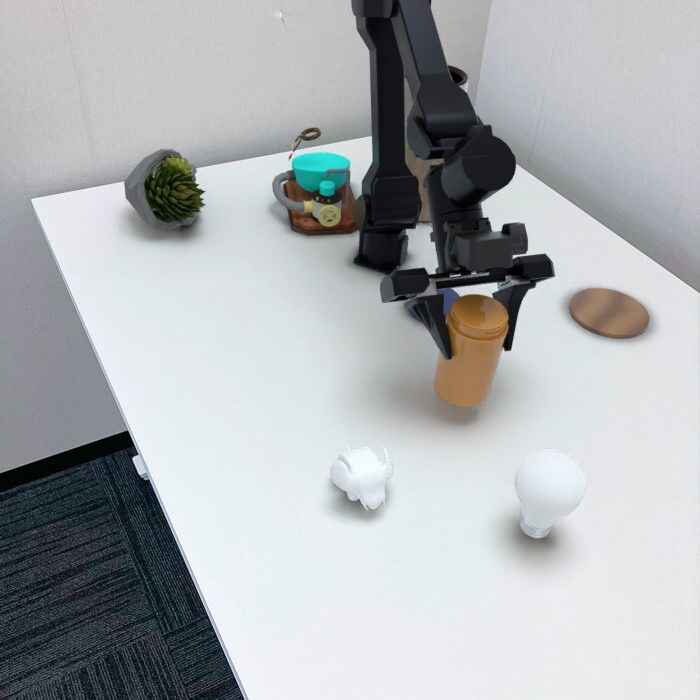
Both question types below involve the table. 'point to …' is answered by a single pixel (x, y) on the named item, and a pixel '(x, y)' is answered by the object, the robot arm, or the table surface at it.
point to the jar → (471, 350)
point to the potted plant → (164, 190)
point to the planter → (414, 163)
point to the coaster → (609, 313)
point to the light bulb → (548, 489)
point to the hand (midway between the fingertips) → (478, 355)
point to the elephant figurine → (363, 475)
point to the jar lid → (449, 299)
